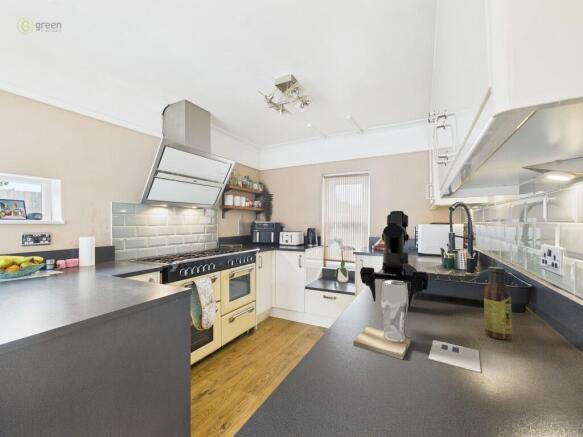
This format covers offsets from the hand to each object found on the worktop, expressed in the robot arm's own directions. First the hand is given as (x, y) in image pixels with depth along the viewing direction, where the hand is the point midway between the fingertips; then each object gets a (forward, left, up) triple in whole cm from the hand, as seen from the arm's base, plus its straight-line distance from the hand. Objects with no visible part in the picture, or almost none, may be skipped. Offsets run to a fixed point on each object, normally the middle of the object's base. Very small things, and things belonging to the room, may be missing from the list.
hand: (391, 303), depth 72 cm
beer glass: (+2, +1, -9) cm, 9 cm away
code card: (0, +15, -10) cm, 18 cm away
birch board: (+4, -1, -10) cm, 11 cm away
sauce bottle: (-21, +25, -10) cm, 34 cm away
